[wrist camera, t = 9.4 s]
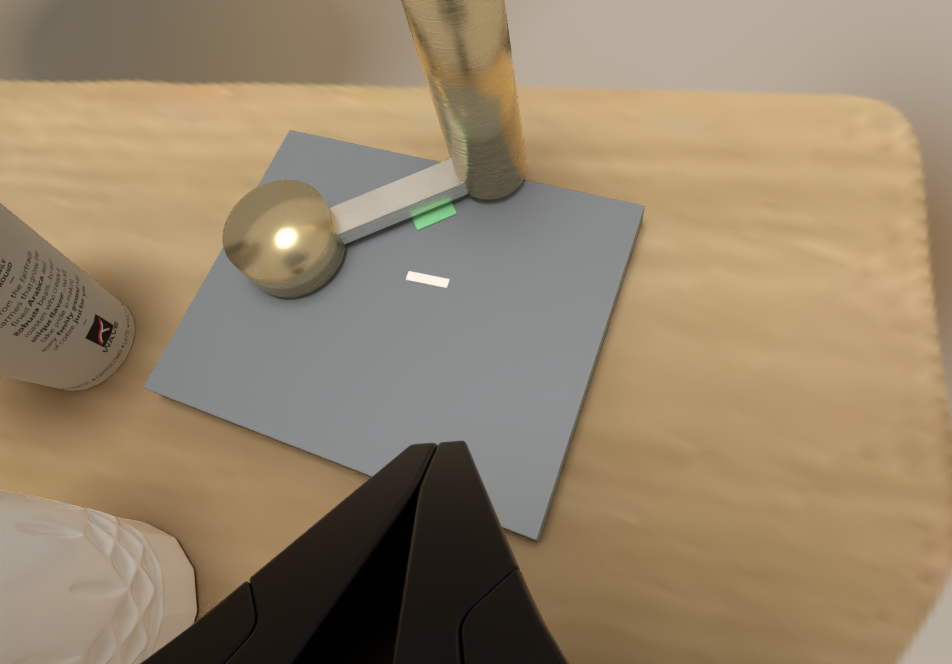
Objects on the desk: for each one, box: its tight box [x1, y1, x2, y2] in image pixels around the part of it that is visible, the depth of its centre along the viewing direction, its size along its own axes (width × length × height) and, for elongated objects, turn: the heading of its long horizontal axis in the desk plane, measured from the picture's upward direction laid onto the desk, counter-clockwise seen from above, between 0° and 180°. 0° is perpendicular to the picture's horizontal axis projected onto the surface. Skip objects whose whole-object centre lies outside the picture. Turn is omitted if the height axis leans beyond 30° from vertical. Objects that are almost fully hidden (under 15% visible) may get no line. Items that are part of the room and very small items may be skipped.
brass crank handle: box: [223, 0, 527, 298], centre depth 19 cm, size 13×4×13 cm, turn 110°
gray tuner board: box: [144, 130, 645, 542], centre depth 25 cm, size 17×14×1 cm
